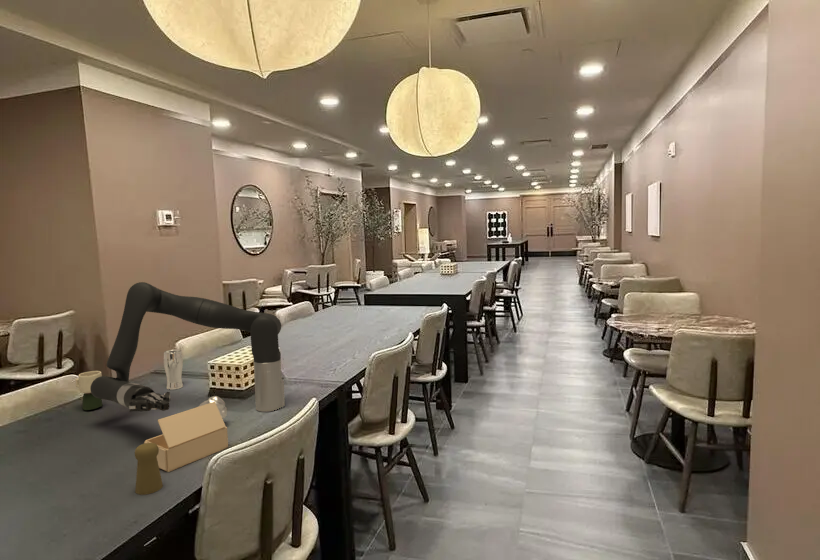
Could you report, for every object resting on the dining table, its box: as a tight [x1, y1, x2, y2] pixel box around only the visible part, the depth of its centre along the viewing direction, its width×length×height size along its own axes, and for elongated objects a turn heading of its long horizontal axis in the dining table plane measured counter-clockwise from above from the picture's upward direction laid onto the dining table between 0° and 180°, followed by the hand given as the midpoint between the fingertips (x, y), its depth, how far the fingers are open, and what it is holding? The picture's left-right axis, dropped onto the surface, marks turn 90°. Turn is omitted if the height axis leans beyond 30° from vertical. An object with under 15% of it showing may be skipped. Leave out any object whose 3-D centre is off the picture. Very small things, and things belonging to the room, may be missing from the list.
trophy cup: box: [75, 370, 104, 411], centre depth 181 cm, size 11×7×13 cm, turn 88°
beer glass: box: [163, 349, 184, 391], centre depth 205 cm, size 7×7×15 cm
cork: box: [134, 443, 164, 496], centre depth 123 cm, size 6×6×11 cm
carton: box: [143, 426, 229, 473], centre depth 142 cm, size 19×12×6 cm, turn 146°
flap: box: [157, 402, 227, 448], centre depth 139 cm, size 17×1×8 cm
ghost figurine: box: [198, 395, 228, 420], centre depth 162 cm, size 9×10×10 cm
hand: (166, 406), depth 146 cm, fingers closed
